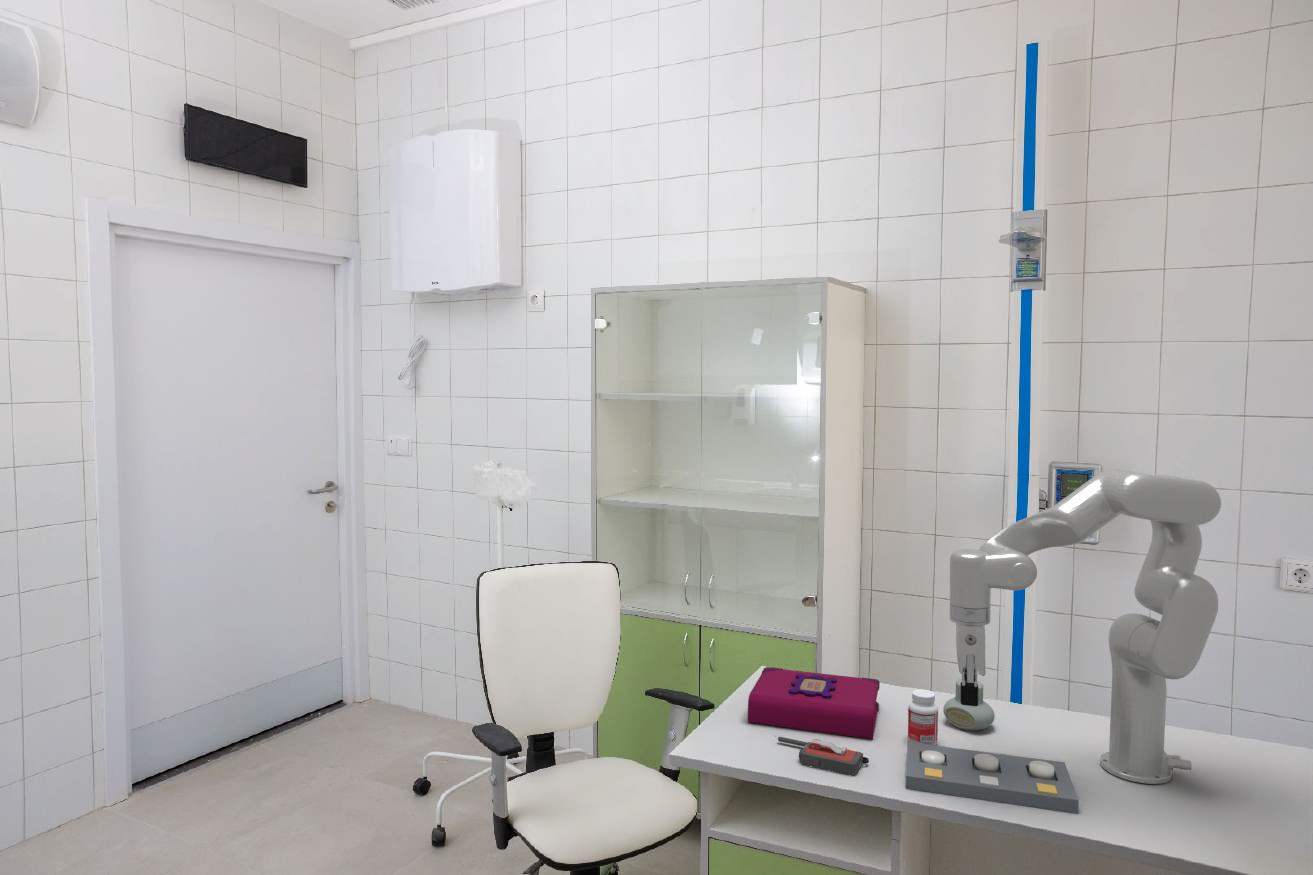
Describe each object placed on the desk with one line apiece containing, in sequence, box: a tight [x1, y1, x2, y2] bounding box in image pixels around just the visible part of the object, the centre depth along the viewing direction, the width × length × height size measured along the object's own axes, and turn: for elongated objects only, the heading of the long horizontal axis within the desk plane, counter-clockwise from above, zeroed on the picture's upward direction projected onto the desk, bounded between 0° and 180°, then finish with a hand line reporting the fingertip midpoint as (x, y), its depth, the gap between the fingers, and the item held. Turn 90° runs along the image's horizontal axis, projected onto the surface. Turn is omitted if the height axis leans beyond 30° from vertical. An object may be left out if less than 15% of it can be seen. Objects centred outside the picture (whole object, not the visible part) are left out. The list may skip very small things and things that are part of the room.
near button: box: [1029, 761, 1054, 780], centre depth 162 cm, size 4×4×2 cm
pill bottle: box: [907, 688, 939, 746], centre depth 181 cm, size 6×6×11 cm
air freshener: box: [943, 678, 996, 731], centre depth 190 cm, size 11×8×10 cm
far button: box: [921, 750, 945, 765], centre depth 168 cm, size 4×4×2 cm
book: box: [747, 666, 881, 740], centre depth 196 cm, size 21×28×8 cm
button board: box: [905, 741, 1080, 814], centre depth 163 cm, size 30×16×3 cm, turn 72°
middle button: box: [974, 754, 999, 772], centre depth 165 cm, size 4×4×2 cm
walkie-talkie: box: [777, 736, 870, 777], centre depth 173 cm, size 9×4×20 cm
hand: (969, 703), depth 165 cm, fingers closed
